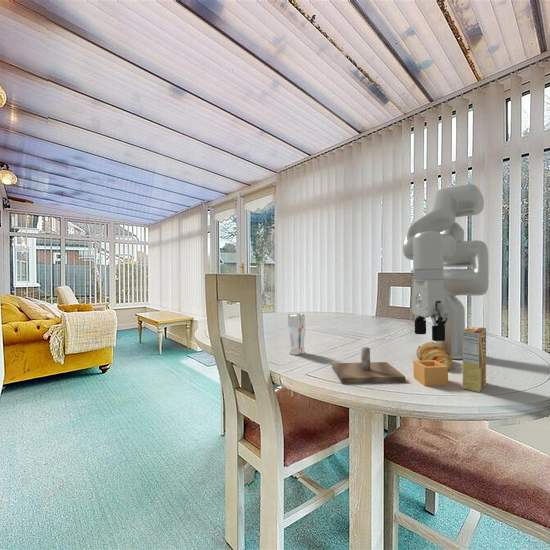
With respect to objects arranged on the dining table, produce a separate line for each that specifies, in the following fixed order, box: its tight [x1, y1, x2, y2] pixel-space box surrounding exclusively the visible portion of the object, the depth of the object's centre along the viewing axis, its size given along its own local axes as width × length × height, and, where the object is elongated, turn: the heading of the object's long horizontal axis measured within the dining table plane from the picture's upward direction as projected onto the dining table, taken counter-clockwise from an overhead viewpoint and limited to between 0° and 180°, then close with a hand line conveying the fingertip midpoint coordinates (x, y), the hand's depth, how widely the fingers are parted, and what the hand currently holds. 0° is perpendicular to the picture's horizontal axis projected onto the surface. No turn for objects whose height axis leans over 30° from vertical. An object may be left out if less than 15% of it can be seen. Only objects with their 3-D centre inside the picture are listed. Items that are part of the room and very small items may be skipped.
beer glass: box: [287, 313, 306, 356], centre depth 117 cm, size 7×7×15 cm
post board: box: [331, 346, 406, 384], centre depth 91 cm, size 18×14×8 cm
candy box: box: [462, 326, 487, 393], centre depth 81 cm, size 9×4×15 cm, turn 137°
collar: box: [412, 360, 449, 387], centre depth 84 cm, size 6×6×5 cm
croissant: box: [416, 341, 453, 370], centre depth 102 cm, size 21×10×8 cm, turn 177°
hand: (428, 337), depth 84 cm, fingers open, 9 cm apart
